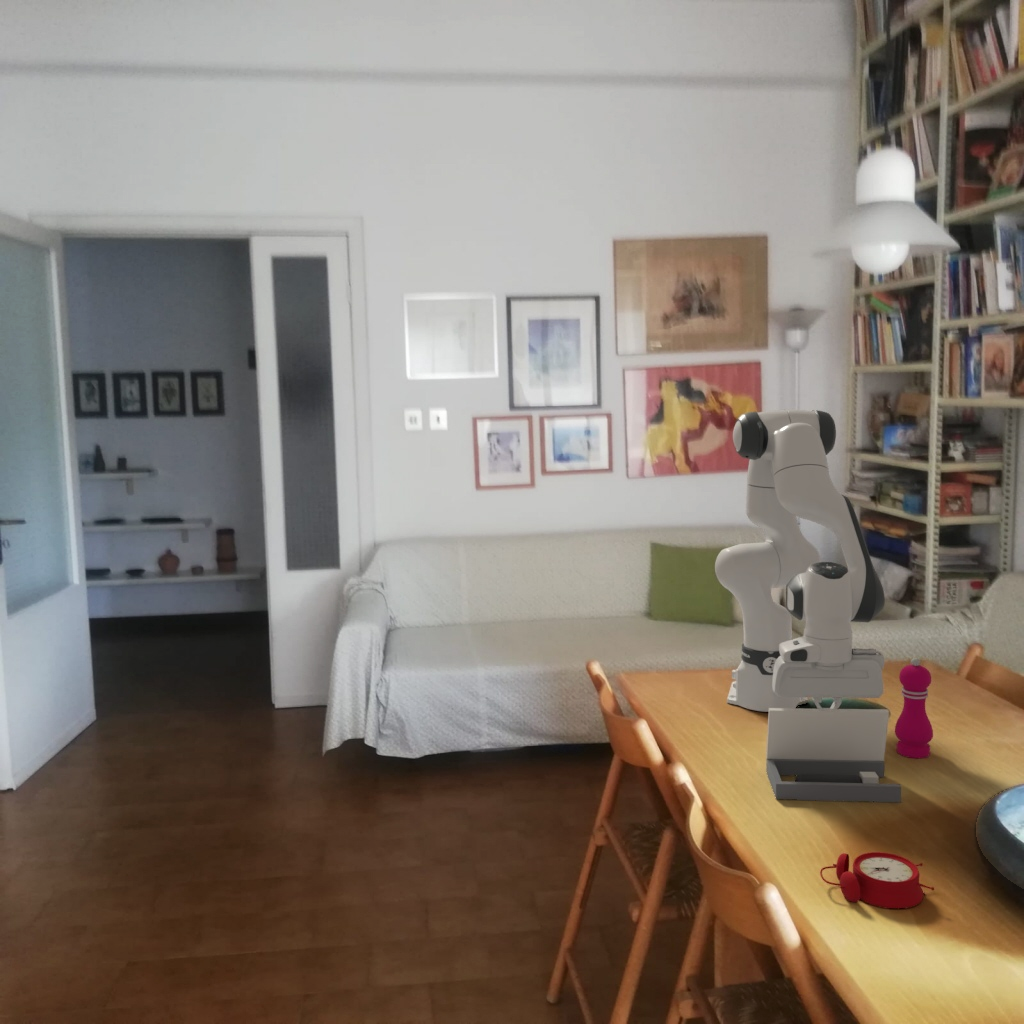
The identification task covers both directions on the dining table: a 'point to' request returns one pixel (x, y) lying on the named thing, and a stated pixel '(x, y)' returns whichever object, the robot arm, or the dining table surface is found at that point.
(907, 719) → the pepper mill
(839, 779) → the white-capped dark rod
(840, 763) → the grey flat frame
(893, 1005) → the dining table surface
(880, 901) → the alarm clock
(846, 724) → the cover
